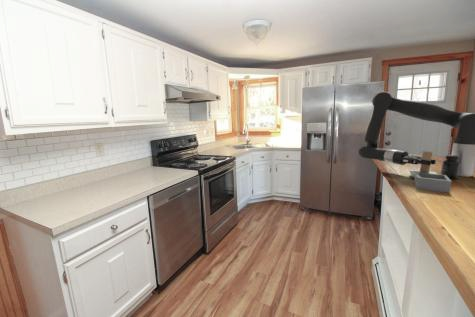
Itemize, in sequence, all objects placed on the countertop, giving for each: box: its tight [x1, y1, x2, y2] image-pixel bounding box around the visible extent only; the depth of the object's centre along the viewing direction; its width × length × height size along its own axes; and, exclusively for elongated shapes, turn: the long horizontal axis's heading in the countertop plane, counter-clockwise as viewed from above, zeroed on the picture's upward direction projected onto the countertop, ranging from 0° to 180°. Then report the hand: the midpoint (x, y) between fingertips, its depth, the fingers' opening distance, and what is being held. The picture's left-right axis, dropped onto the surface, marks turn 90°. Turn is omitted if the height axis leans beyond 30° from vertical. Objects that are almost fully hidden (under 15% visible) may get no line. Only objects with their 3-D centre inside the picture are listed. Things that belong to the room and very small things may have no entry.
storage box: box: [413, 172, 452, 194], centre depth 103 cm, size 11×11×6 cm
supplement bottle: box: [439, 154, 460, 181], centre depth 119 cm, size 7×7×12 cm
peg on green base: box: [409, 150, 438, 179], centre depth 115 cm, size 11×11×13 cm
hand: (432, 162), depth 112 cm, fingers closed on peg on green base, 3 cm apart
